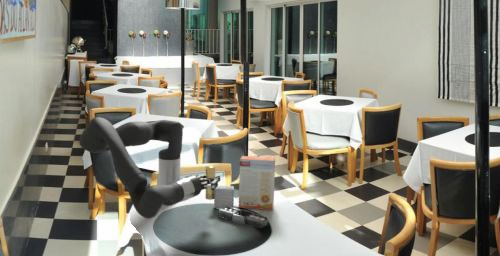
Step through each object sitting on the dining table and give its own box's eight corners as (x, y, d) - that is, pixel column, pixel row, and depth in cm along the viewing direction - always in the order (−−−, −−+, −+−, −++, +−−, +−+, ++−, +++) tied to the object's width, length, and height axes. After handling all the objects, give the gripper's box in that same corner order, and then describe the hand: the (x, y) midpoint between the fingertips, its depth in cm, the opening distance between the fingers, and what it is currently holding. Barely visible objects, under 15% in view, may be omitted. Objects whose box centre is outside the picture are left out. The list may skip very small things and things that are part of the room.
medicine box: (233, 205, 187) (234, 185, 186) (233, 209, 183) (234, 189, 181) (214, 205, 187) (214, 185, 185) (213, 209, 183) (214, 188, 181)
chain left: (218, 216, 175) (219, 209, 174) (226, 213, 179) (226, 206, 178) (233, 221, 171) (234, 213, 171) (240, 217, 175) (241, 209, 175)
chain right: (245, 224, 168) (245, 216, 168) (252, 220, 172) (252, 212, 172) (261, 228, 165) (261, 221, 164) (268, 224, 169) (268, 217, 168)
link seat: (232, 221, 170) (232, 214, 170) (242, 216, 176) (242, 209, 175) (244, 225, 168) (244, 217, 167) (253, 219, 173) (253, 212, 173)
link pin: (203, 198, 168) (203, 167, 166) (209, 195, 171) (209, 165, 169) (211, 200, 166) (211, 169, 164) (216, 197, 169) (217, 166, 167)
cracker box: (273, 205, 189) (275, 157, 185) (272, 210, 183) (274, 160, 179) (240, 202, 191) (242, 154, 187) (238, 207, 185) (239, 158, 181)
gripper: (169, 194, 160) (200, 182, 174) (201, 203, 152) (230, 190, 167) (169, 174, 158) (200, 164, 173) (201, 182, 151) (230, 170, 165)
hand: (215, 176), depth 170 cm, fingers closed on link pin, 3 cm apart
